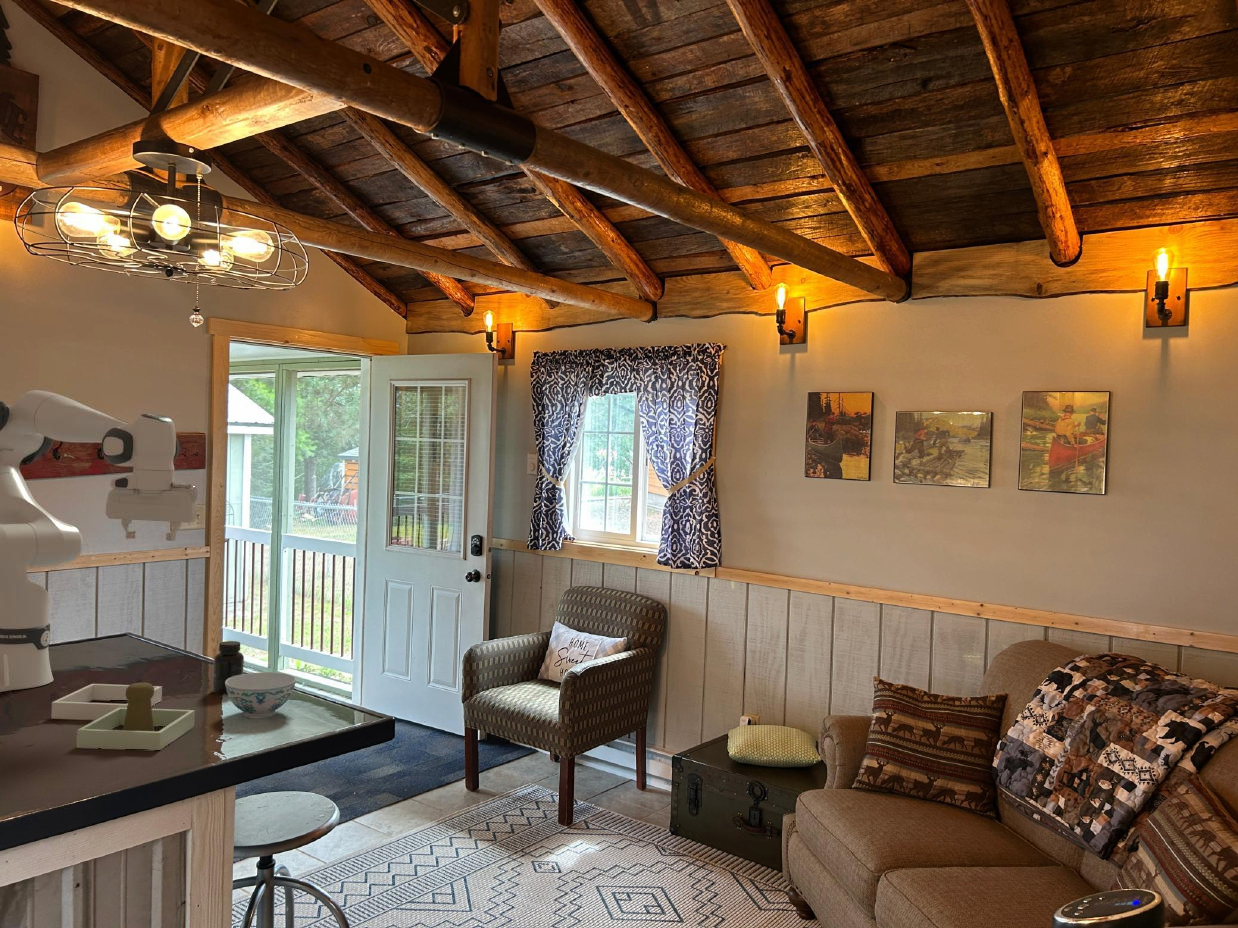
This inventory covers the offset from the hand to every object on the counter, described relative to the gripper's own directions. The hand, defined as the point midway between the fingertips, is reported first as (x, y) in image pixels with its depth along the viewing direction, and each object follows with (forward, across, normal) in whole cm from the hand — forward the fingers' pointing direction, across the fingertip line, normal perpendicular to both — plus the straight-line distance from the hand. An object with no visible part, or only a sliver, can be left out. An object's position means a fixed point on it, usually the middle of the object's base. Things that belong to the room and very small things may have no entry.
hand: (150, 539), depth 217 cm
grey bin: (+37, +1, +14) cm, 40 cm away
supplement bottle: (+37, -18, -5) cm, 42 cm away
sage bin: (+37, -14, +32) cm, 51 cm away
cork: (+37, -14, +32) cm, 51 cm away
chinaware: (+37, -32, +13) cm, 51 cm away
